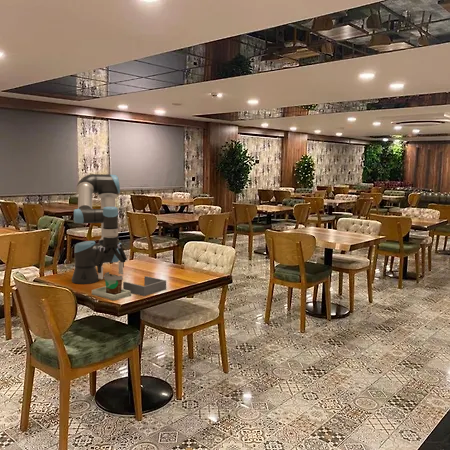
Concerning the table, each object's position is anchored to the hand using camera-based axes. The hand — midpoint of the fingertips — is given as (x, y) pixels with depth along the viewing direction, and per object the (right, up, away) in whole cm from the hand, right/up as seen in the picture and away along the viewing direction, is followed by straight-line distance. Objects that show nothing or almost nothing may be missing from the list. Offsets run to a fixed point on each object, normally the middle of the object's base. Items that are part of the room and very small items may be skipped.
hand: (111, 276), depth 230 cm
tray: (0, -10, +1) cm, 10 cm away
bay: (+16, -9, +12) cm, 22 cm away
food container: (0, -9, +1) cm, 9 cm away
